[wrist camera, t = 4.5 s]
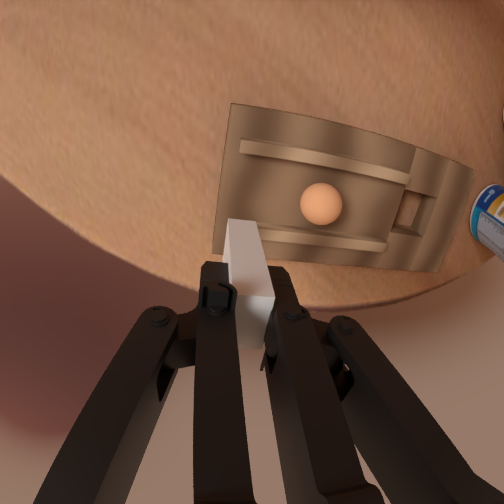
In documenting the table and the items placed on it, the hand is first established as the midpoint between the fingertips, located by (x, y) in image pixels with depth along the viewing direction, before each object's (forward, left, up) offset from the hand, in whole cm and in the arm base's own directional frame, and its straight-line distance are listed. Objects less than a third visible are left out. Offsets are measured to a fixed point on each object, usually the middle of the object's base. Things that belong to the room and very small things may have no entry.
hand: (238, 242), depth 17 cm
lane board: (+12, 0, -11) cm, 16 cm away
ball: (+7, 0, -7) cm, 10 cm away
